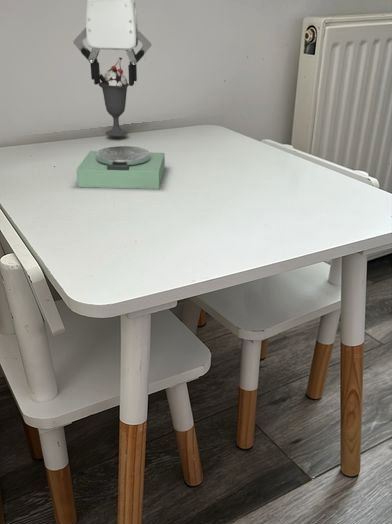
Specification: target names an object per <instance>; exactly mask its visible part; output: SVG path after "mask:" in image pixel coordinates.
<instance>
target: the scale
mask: <svg viewBox="0 0 392 524" xmlns="http://www.w3.org/2000/svg"><path fill="white" fill-rule="evenodd" d="M97 151H98V150H89V151H88V153H87V154H86V156H85V157H84V159H82V161H81V162H80V164H79V165H78V167H77V168H76V178H77V187H78V188H100V189H102V188H104V189H134V190H135V189H136V190H137V189H141V190H142V189H143V190H160V188H161V184H162V180H163V177H164V174H165V170H166V158H165V157H166V155H165V154H166V153H165V152H153V151H151V152H150V151H149V152H150V159H149V160H148V161H146V162H143V163H140V164H134V165H110V164H104V163H101V162H99V161H97V159H96V152H97Z"/></svg>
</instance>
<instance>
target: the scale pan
mask: <svg viewBox="0 0 392 524" xmlns="http://www.w3.org/2000/svg"><path fill="white" fill-rule="evenodd" d="M96 151H97V152H96V159H97V161H99V162H101V163H104V164H110V165H134V164H140V163H143V162H146V161H148V160H149V159H150V150H147V148H143V147H139V146H130V145H122V146H121V145H119V146H118V145H117V146H109V147H104V148H101V149H99V150H96Z"/></svg>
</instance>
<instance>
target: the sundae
mask: <svg viewBox="0 0 392 524" xmlns="http://www.w3.org/2000/svg"><path fill="white" fill-rule="evenodd" d="M122 60H123V57H118V60H117V62H116V63H115V64H114V65H112V66H111V67H110V69H108V70H107V71H106V72H105V74H104V75H103V73H100V76H99V77H100V82H99V84H98V86H99V87H100V88H101V90H102V94H103V100H104V106H105V109H106V112H107V113H108V114H109V115H110V116H111V117H112V120H113V124H112V128H111V129H110V130H107V131H105V135H107V136H110V137H122V136H127V135H128V134H129V132H128V131H126V130H123V129H122V128H121V126H120V117H121V115H123V114H124V112H125V109H126V106H127V105H126V104H127V91H128V87H129V86H130V85H129V82H128V79H127V78H126V76H125V75H124V70H123V69H122V67H121V65H119V68H118V69H117V65H118V64H119V63H120V62H121V61H122Z"/></svg>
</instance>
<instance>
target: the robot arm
mask: <svg viewBox="0 0 392 524" xmlns="http://www.w3.org/2000/svg"><path fill="white" fill-rule="evenodd" d="M85 8H86V9H85V12H86V13H85V27H84V29H83V30H82V31H81V32H80V33H79V34H78V35H77V36H76V37H75V39H74V40H73V45H74V46H75V47H76V48H77V49H78V50H79V51H80V53H81V55H82V56H84V57H85V59H86V60H87V61H88V63H90V78H91V80H93V84H94V85H99V82H101V80H100V77H99V76H100V74H101V71H100V62H99V61H98V56H99V53H100V51H101V50H110V51H125V53H126V55H127V57H128V60H129V64H128V84H129V86H130V87H133V86H134V85H135V82H137V80H138V73H137V71H138V68H137V64H138V63H139V62H140V60H141V59H143V57H144V56H145V55H146V53H147V52H148V51H149V50H150V48H151V47H152V42H151V40H150V39H148V38H147V37H146V36H145V35H144V33H142V32H141V30H140V29H139V27H138V14H137V3H136V0H86V6H85ZM85 39H86V43H87V46H88V47H89V48H91V50H89V48H88V47H86V45H85V44H84V41H85ZM139 42H140V43H141V44H142V46H141V48H140V49H139V50H138V52H135V48H136V47H138V45H139Z"/></svg>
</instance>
